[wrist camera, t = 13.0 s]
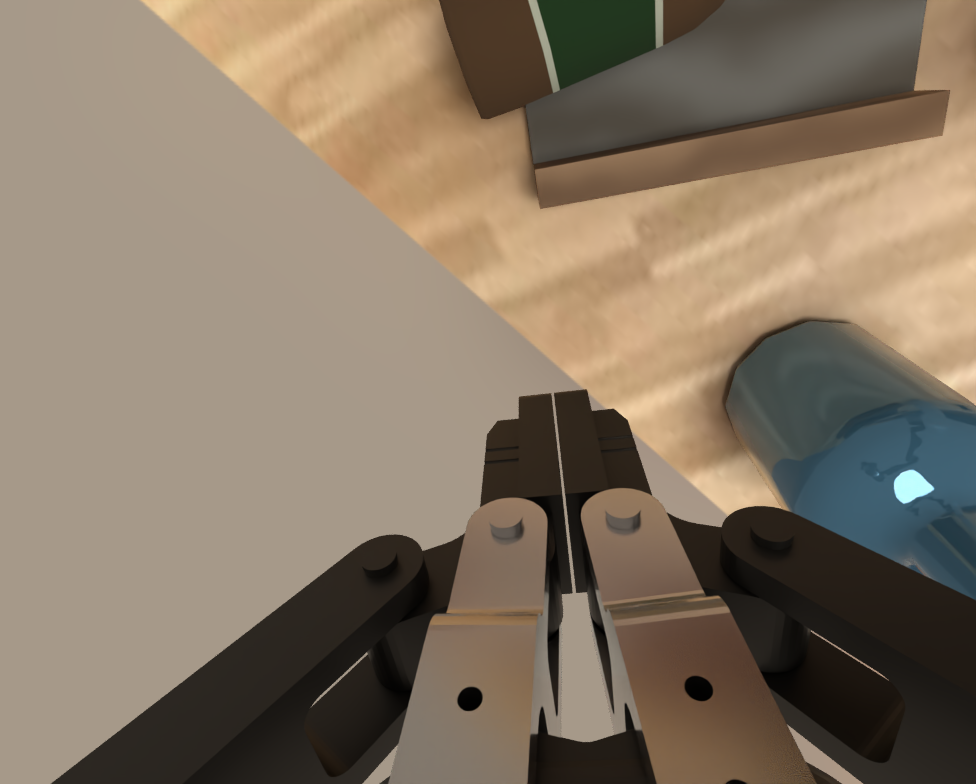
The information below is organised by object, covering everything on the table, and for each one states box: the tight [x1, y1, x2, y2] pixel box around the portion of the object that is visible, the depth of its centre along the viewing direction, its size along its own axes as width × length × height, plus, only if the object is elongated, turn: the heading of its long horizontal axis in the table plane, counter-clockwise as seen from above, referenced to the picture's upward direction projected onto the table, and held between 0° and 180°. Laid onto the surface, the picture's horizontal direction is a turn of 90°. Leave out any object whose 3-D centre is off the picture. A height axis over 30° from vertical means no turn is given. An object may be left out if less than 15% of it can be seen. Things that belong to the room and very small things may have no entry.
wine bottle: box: [725, 321, 976, 600], centre depth 35 cm, size 14×13×30 cm
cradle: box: [525, 0, 950, 209], centre depth 34 cm, size 19×25×4 cm
